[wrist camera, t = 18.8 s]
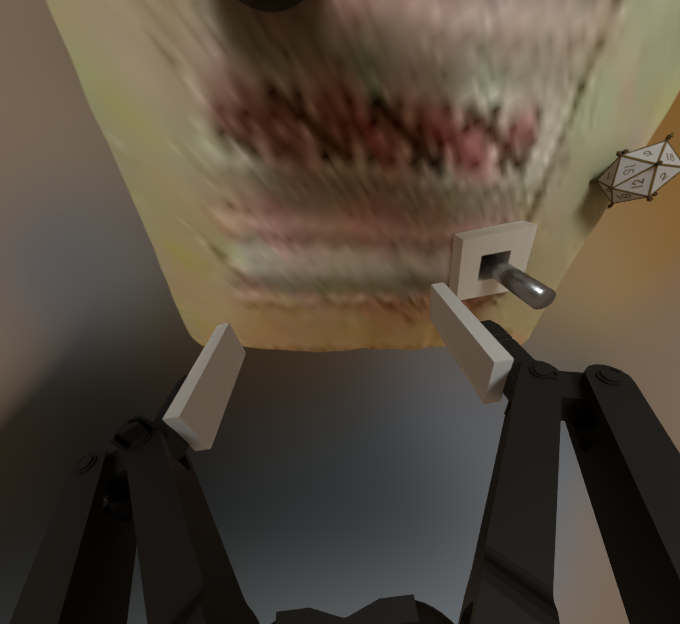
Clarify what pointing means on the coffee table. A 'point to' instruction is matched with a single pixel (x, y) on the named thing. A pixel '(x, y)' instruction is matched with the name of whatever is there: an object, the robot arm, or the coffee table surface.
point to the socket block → (472, 245)
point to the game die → (640, 172)
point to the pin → (517, 282)
